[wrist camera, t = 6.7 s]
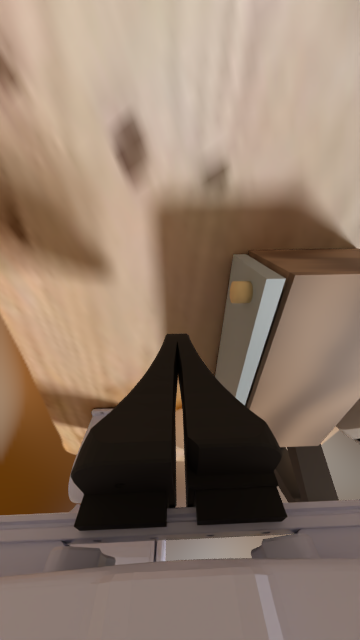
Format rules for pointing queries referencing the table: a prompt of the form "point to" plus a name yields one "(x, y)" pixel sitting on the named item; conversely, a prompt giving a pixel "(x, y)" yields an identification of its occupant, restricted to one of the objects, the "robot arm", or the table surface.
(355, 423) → the grey curved piece
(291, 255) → the cabinet
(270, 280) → the door
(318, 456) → the phone stand
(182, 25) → the table surface
